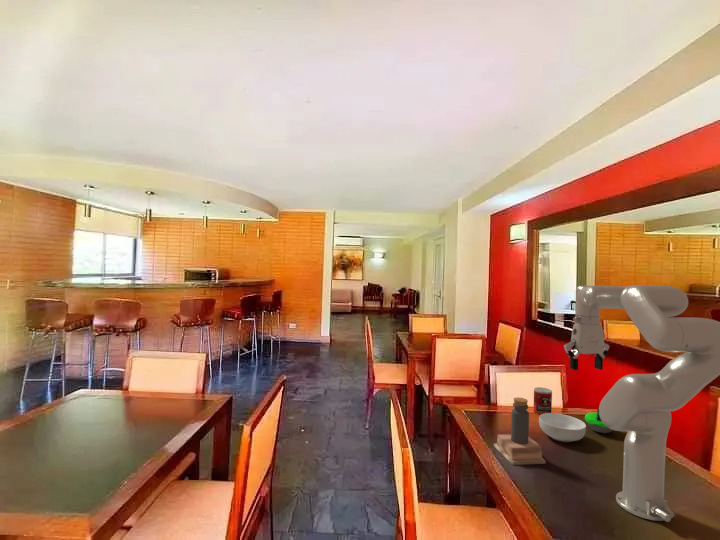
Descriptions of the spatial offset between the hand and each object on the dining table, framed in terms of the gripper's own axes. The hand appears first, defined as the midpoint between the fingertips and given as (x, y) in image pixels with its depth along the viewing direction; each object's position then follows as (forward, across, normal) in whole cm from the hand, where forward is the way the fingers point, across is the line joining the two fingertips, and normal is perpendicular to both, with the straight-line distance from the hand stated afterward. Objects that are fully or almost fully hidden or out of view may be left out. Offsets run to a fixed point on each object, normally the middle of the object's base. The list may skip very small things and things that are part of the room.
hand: (586, 369), depth 138 cm
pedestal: (+32, -21, +7) cm, 39 cm away
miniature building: (+32, +26, +22) cm, 47 cm away
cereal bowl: (+32, +5, +18) cm, 37 cm away
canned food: (+32, +14, +44) cm, 56 cm away
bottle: (+28, -21, +7) cm, 35 cm away
